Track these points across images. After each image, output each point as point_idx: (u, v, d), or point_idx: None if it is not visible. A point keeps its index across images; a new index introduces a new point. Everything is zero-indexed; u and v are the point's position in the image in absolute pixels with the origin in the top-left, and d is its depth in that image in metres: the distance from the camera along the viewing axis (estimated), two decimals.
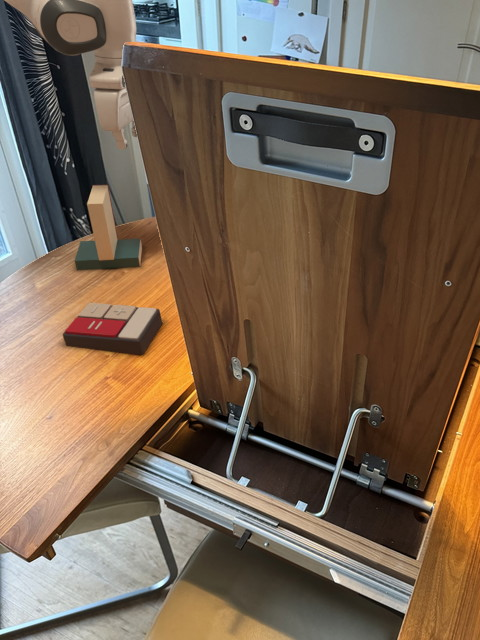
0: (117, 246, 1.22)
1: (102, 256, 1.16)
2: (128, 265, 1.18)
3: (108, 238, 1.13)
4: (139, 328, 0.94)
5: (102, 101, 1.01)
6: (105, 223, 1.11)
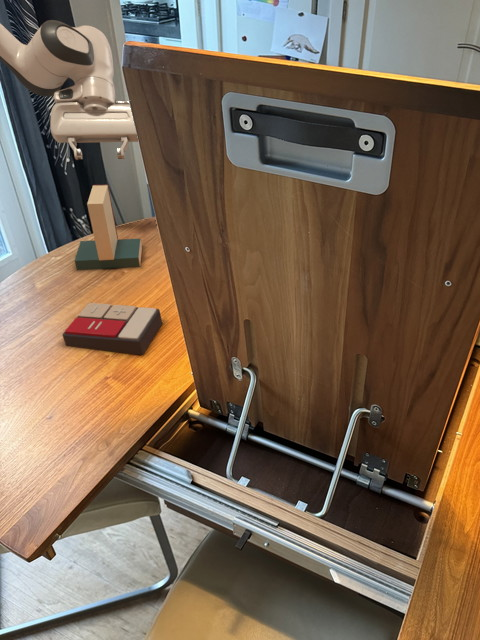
0: (117, 246, 1.22)
1: (102, 256, 1.16)
2: (128, 265, 1.18)
3: (108, 238, 1.13)
4: (139, 328, 0.94)
5: None
6: (105, 223, 1.11)
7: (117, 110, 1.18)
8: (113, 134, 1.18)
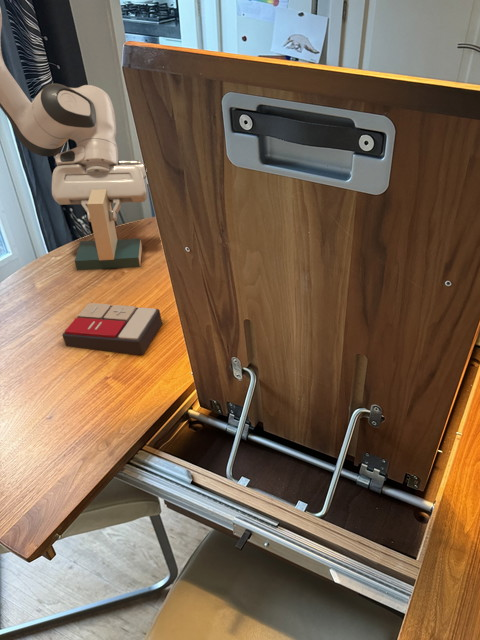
0: (117, 246, 1.22)
1: (102, 256, 1.16)
2: (128, 265, 1.18)
3: (108, 238, 1.13)
4: (139, 328, 0.94)
5: None
6: (105, 223, 1.11)
7: (120, 172, 1.15)
8: (116, 196, 1.15)
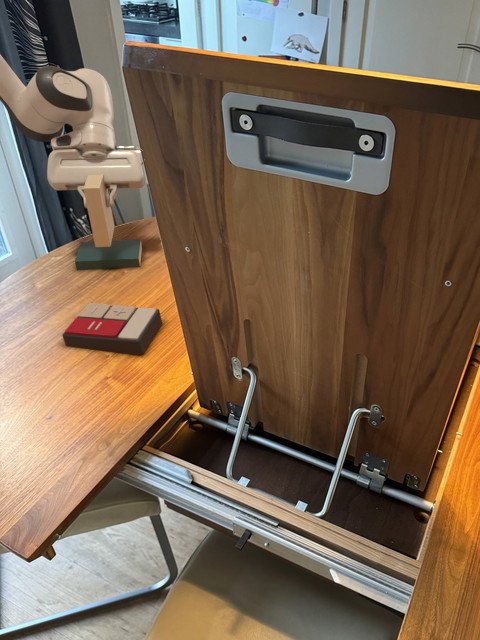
0: (117, 247, 1.22)
1: (98, 243, 1.13)
2: (128, 266, 1.19)
3: (105, 224, 1.11)
4: (139, 328, 0.94)
5: None
6: (102, 208, 1.09)
7: (117, 157, 1.13)
8: (113, 182, 1.12)
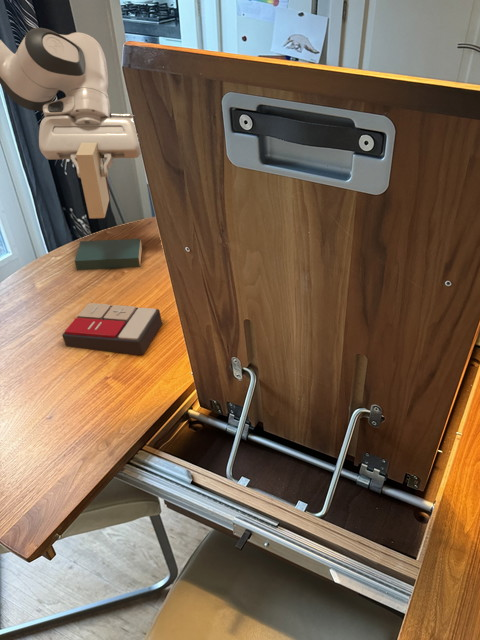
0: (117, 246, 1.22)
1: (92, 214, 1.09)
2: (128, 265, 1.18)
3: (99, 194, 1.07)
4: (139, 328, 0.94)
5: None
6: (95, 177, 1.04)
7: (111, 124, 1.09)
8: (107, 150, 1.08)
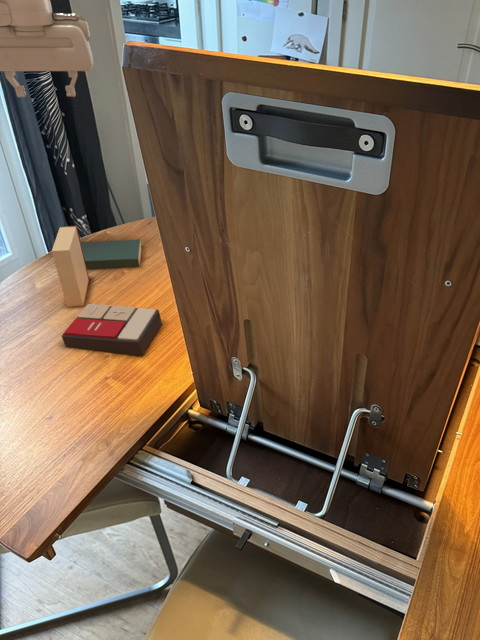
0: (117, 247, 1.22)
1: (71, 304, 1.05)
2: (128, 266, 1.19)
3: (77, 286, 1.03)
4: (139, 329, 0.94)
5: None
6: (73, 270, 1.01)
7: (58, 36, 0.96)
8: (58, 70, 1.00)
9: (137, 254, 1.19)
